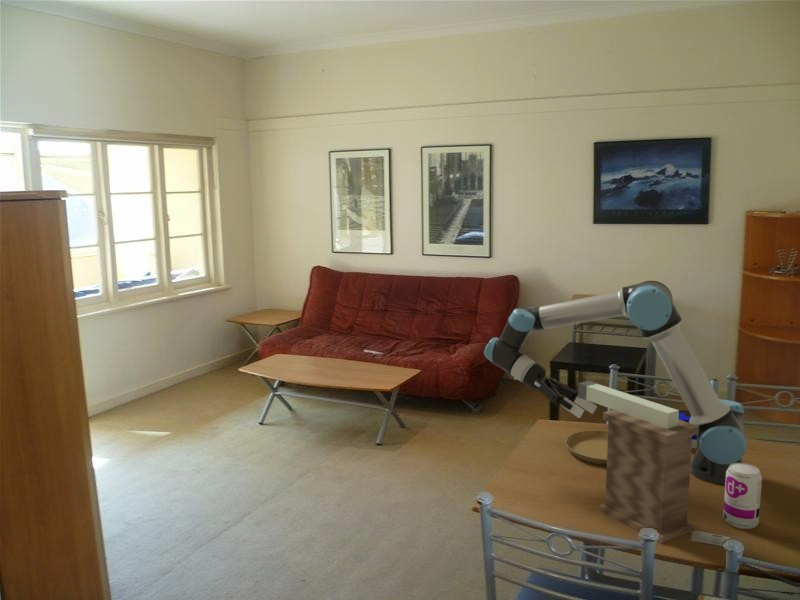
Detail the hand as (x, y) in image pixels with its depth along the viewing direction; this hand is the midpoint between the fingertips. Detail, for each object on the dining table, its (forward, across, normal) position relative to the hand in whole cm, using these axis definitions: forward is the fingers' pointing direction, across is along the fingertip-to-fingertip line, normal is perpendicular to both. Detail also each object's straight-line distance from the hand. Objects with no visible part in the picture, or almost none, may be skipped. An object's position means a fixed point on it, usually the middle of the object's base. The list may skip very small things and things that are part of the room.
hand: (588, 412), depth 196 cm
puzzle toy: (+21, -49, -3) cm, 54 cm away
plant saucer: (+6, -29, -16) cm, 33 cm away
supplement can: (+47, -1, -2) cm, 47 cm away
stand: (+28, +10, -14) cm, 33 cm away
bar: (+10, +12, +9) cm, 18 cm away
